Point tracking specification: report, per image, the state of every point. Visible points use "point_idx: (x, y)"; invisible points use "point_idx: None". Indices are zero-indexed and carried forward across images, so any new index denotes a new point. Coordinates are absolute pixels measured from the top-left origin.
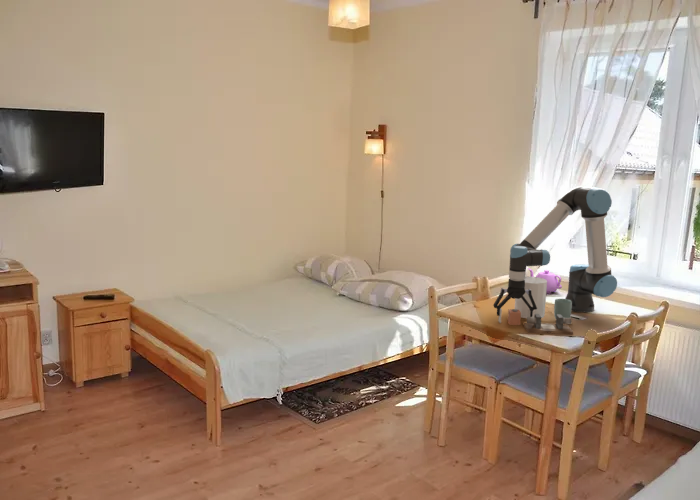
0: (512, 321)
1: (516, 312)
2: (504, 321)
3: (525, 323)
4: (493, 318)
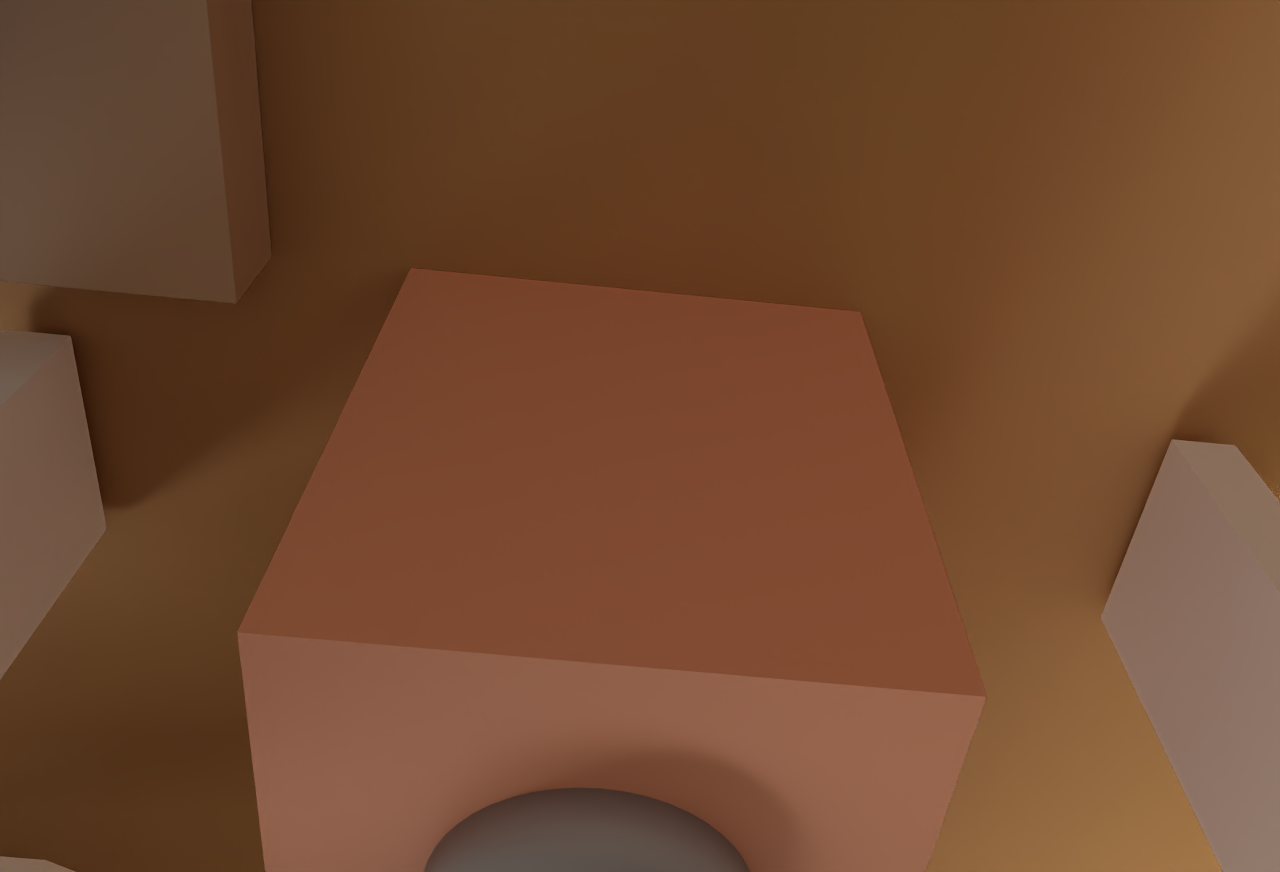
0: (751, 362)
1: (546, 684)
2: None
3: (158, 159)
4: (1151, 865)
